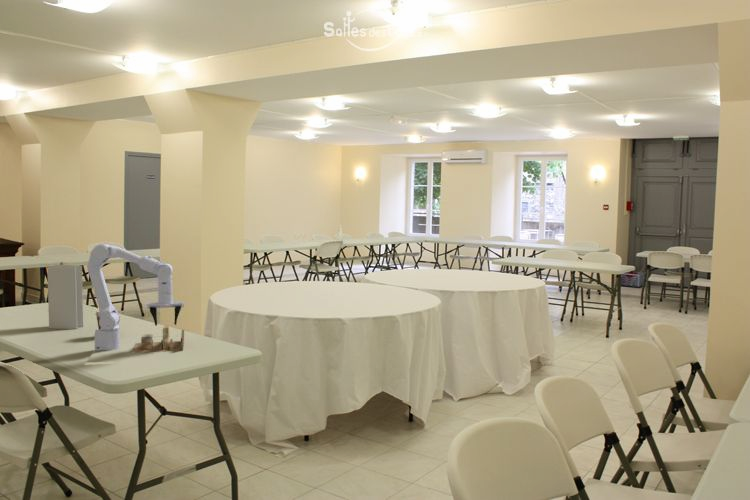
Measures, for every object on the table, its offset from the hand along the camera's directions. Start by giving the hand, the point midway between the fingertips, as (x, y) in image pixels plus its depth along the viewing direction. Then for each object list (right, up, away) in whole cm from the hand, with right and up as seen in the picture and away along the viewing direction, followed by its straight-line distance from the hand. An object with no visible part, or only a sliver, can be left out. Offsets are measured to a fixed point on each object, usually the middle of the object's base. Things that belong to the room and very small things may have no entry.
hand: (165, 324), depth 263 cm
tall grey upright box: (-62, -7, +42) cm, 75 cm away
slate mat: (-6, -9, +17) cm, 20 cm away
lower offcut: (-7, -9, -1) cm, 12 cm away
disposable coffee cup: (-34, -8, +23) cm, 42 cm away
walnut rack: (-3, -10, 0) cm, 11 cm away
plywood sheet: (0, -9, +1) cm, 9 cm away
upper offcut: (-7, -7, -2) cm, 10 cm away
